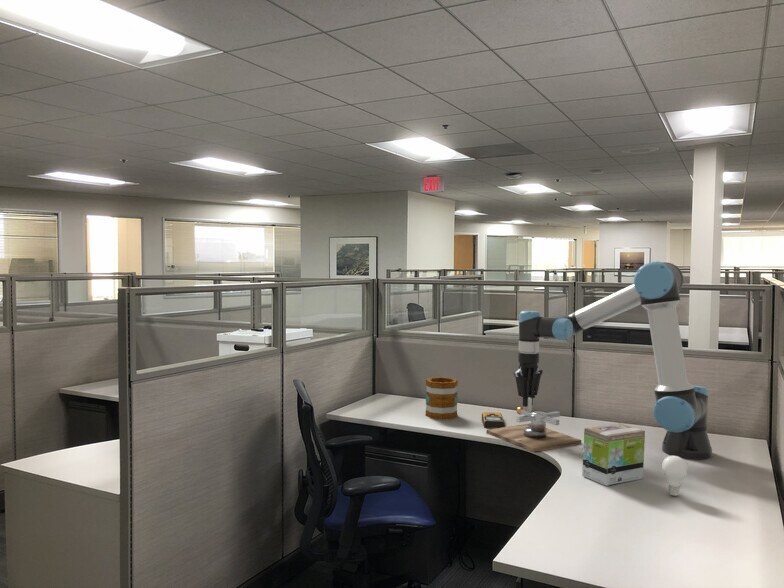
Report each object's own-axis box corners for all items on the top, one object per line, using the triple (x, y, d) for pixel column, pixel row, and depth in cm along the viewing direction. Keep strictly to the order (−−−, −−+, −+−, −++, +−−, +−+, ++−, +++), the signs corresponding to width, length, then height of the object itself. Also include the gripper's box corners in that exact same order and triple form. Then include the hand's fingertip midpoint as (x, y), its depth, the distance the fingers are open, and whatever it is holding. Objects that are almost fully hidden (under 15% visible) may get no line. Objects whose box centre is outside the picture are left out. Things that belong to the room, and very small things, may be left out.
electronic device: (501, 420, 247) (501, 412, 247) (505, 429, 232) (505, 421, 231) (481, 419, 248) (481, 411, 248) (483, 428, 232) (483, 420, 232)
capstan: (577, 439, 212) (577, 415, 212) (536, 446, 203) (536, 421, 203) (536, 425, 230) (537, 403, 230) (497, 431, 221) (497, 409, 221)
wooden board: (581, 443, 212) (581, 439, 212) (533, 451, 202) (533, 447, 202) (531, 426, 235) (531, 422, 235) (486, 433, 225) (486, 429, 225)
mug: (459, 419, 244) (459, 383, 244) (426, 419, 245) (426, 383, 244) (454, 408, 264) (455, 374, 263) (424, 408, 264) (424, 374, 264)
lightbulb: (685, 502, 159) (686, 461, 158) (659, 497, 162) (660, 457, 162) (688, 494, 164) (689, 455, 164) (662, 490, 168) (664, 451, 167)
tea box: (607, 487, 169) (608, 435, 169) (581, 476, 178) (582, 427, 178) (644, 479, 176) (645, 429, 176) (617, 469, 185) (618, 421, 185)
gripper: (534, 349, 230) (532, 410, 231) (508, 352, 223) (507, 414, 224) (548, 352, 224) (547, 414, 225) (523, 354, 217) (521, 419, 218)
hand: (527, 414), depth 225 cm, fingers closed
